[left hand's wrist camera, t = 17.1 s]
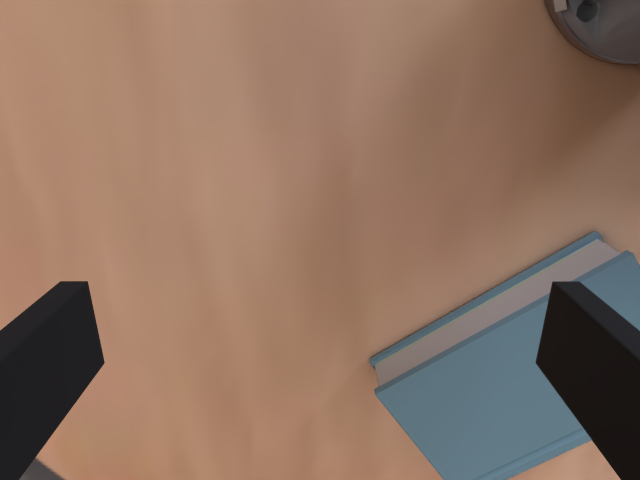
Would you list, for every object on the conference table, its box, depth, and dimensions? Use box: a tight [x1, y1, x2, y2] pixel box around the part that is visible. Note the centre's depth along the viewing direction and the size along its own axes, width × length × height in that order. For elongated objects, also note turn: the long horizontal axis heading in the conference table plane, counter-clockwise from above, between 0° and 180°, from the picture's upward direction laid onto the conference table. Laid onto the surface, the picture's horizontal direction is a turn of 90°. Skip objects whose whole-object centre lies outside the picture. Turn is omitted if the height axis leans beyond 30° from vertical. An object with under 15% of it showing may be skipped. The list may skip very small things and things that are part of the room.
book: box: [369, 231, 640, 480], centre depth 40 cm, size 23×16×5 cm
